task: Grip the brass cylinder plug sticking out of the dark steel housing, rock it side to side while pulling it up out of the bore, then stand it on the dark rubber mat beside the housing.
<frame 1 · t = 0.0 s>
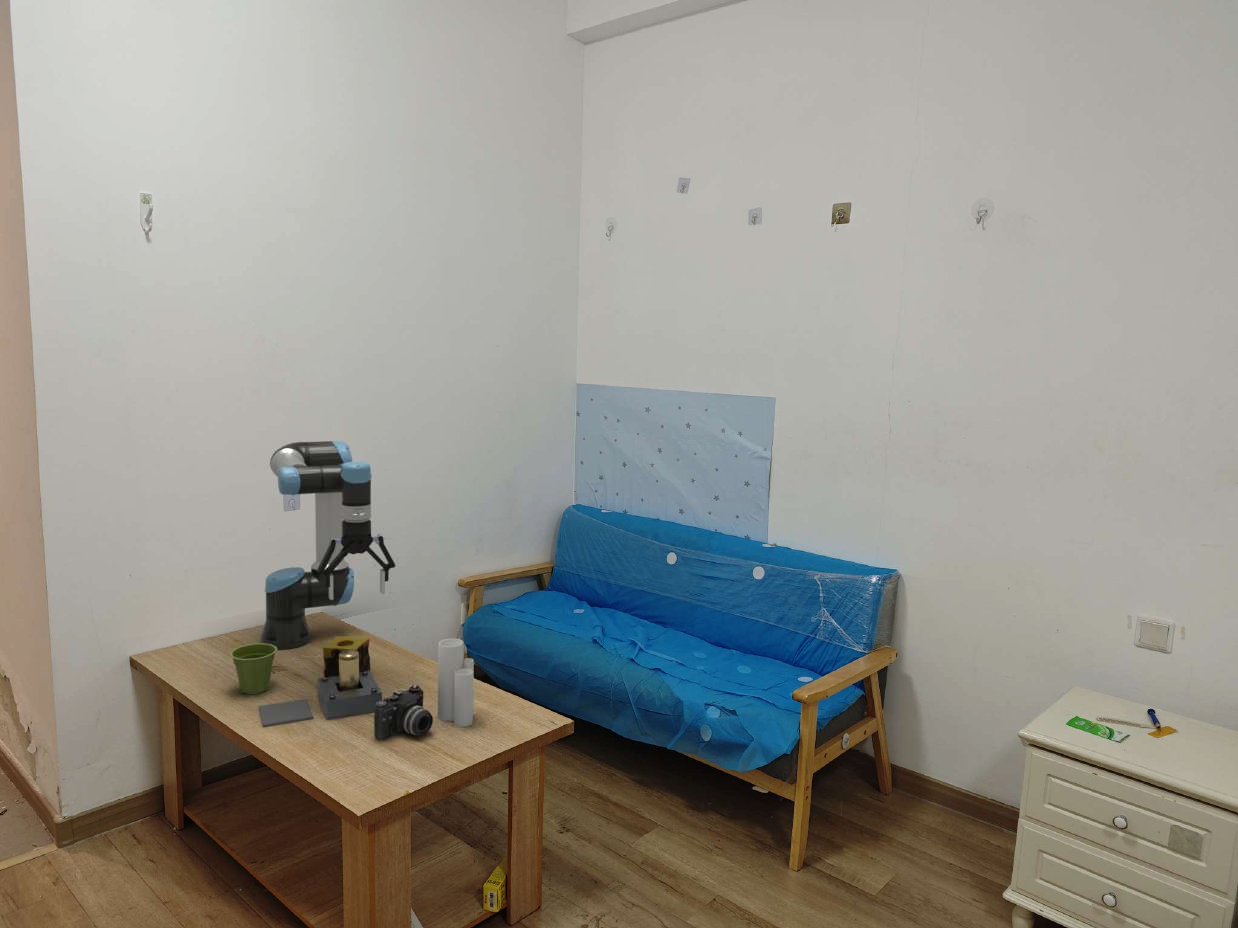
hand: (357, 595, 225), 28 cm above the table, fingers open, 13 cm apart
camera: (407, 733, 207), on the table
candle: (347, 675, 241), on the table
plant pot: (254, 690, 228), on the table
plug: (349, 702, 222), resting in housing
grey cylinder cluster: (457, 718, 216), on the table
mat: (285, 713, 215), on the table
housing: (349, 702, 222), on the table
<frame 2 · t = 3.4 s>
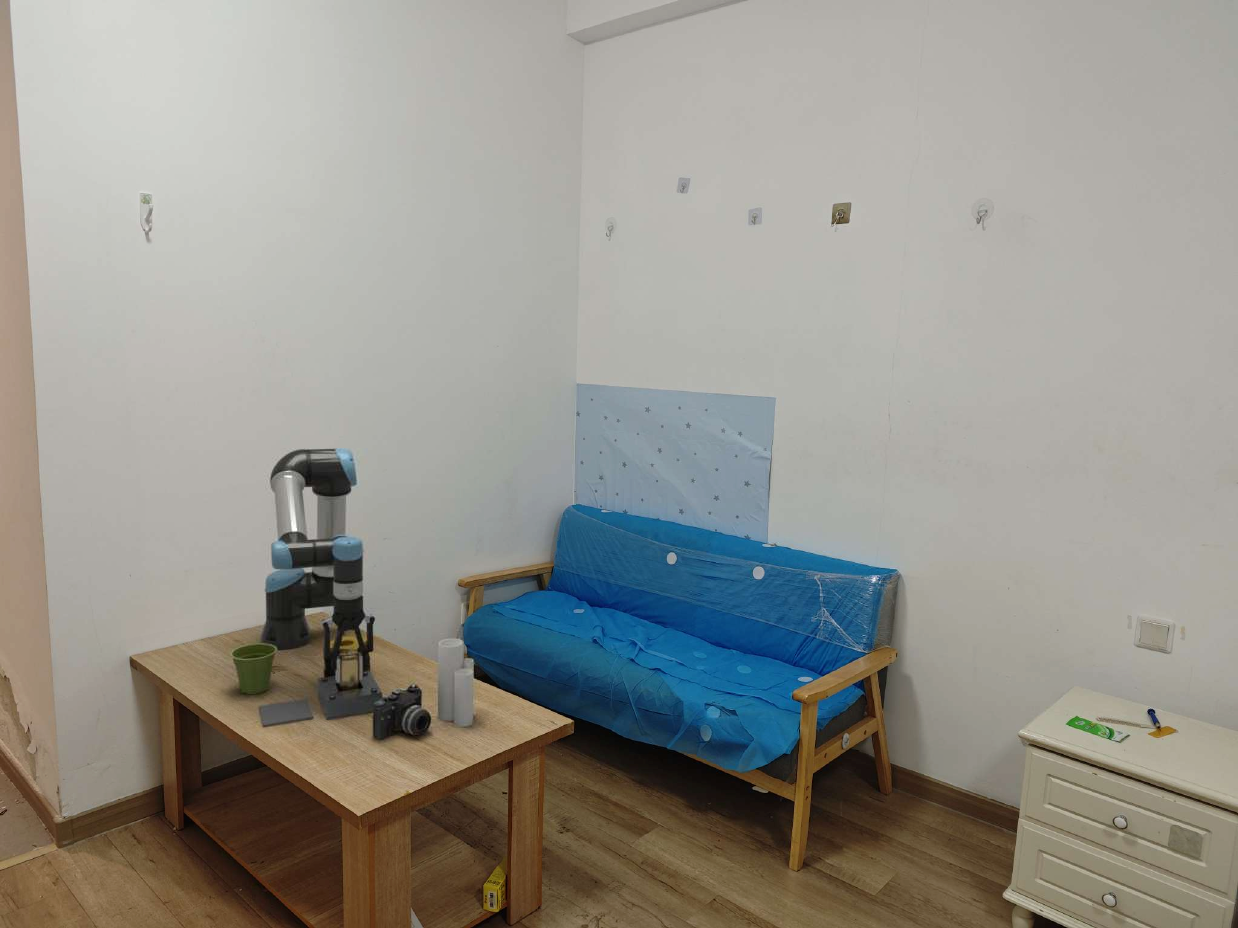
hand: (349, 679, 221), 7 cm above the table, fingers closed on plug, 5 cm apart
plug: (349, 702, 222), resting in housing, touching gripper
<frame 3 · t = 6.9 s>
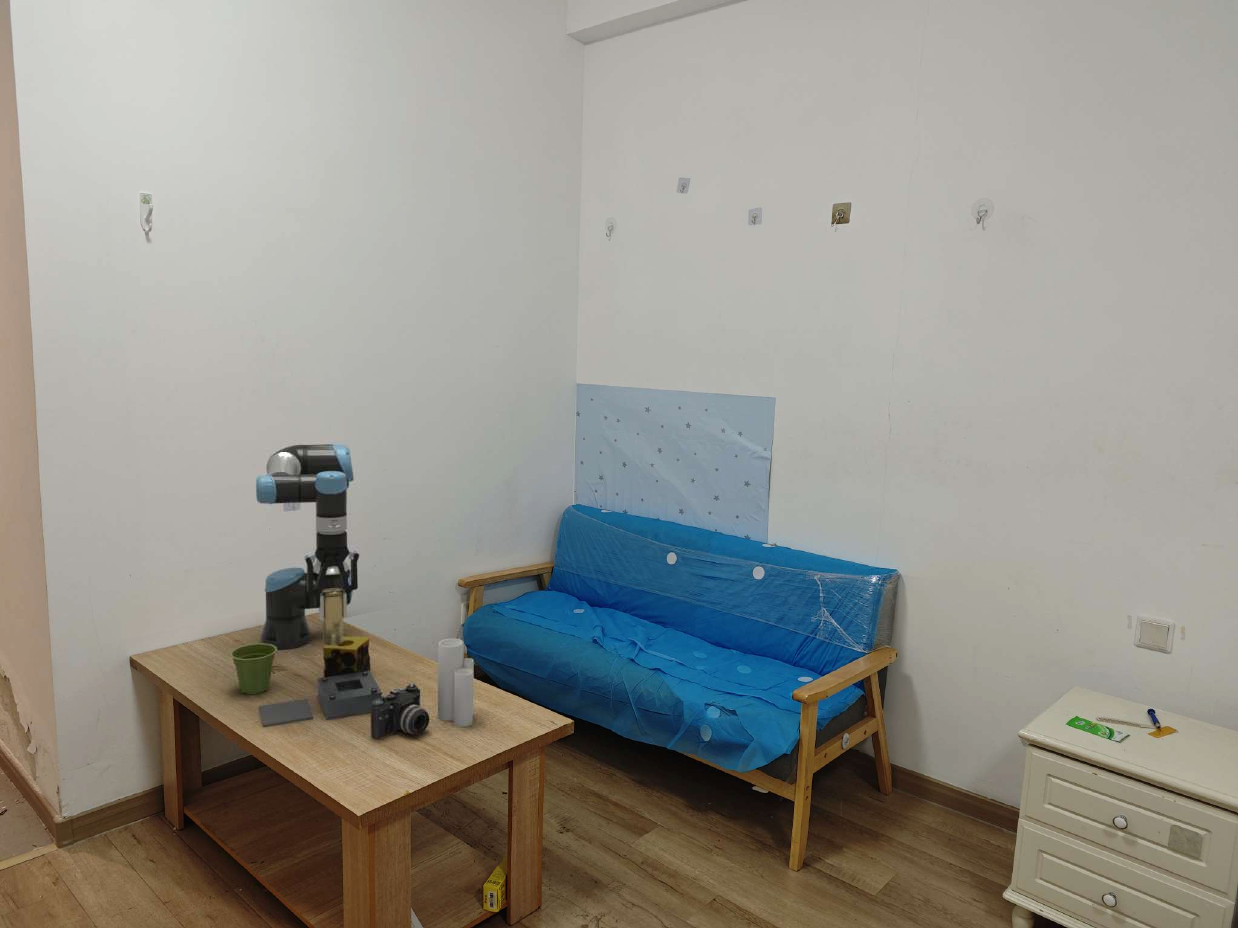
hand: (332, 617, 217), 25 cm above the table, fingers closed on plug, 5 cm apart
plug: (333, 641, 218), point 18 cm above the table, touching gripper
when the fingers open (9 cm above the table, at t = 10.7 s): plug drops 1 cm, resting on mat.
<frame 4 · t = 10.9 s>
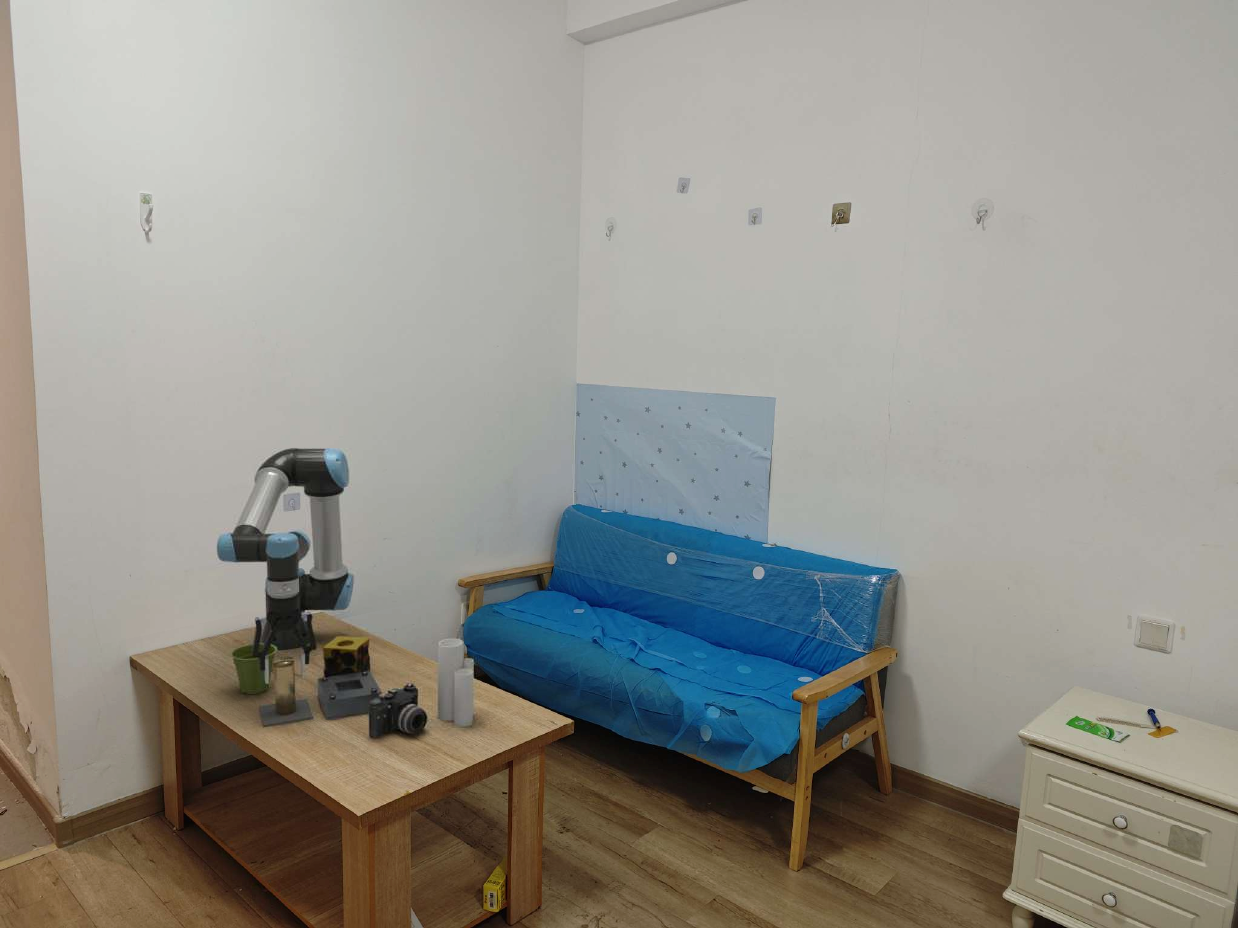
hand: (285, 678, 213), 9 cm above the table, fingers open, 8 cm apart
plug: (286, 710, 215), point 1 cm above the table, touching mat
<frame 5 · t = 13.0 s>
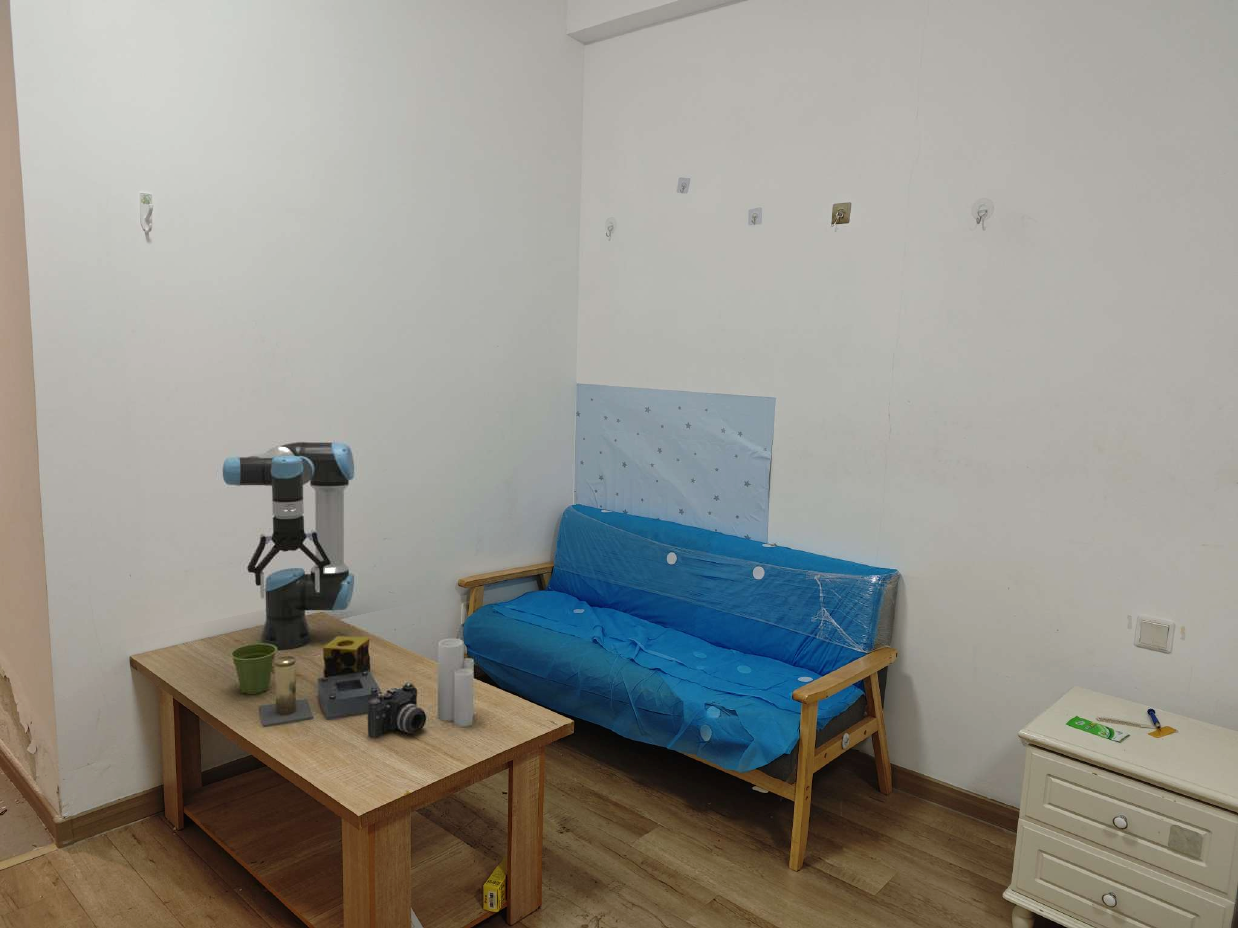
hand: (290, 593, 217), 30 cm above the table, fingers open, 13 cm apart
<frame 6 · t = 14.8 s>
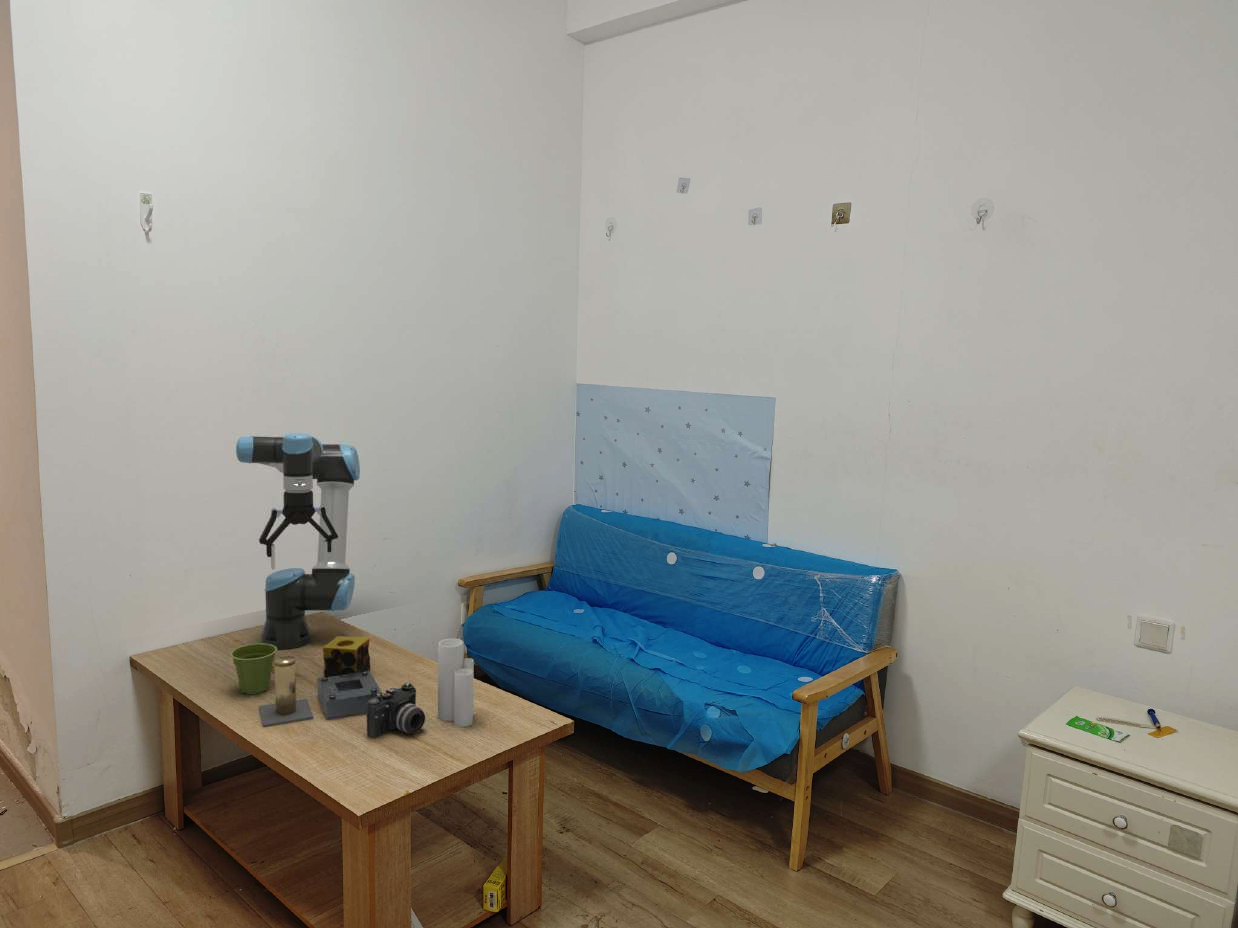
hand: (299, 566, 227), 35 cm above the table, fingers open, 13 cm apart
at the end: plug inside the target area on the mat (0.1 cm from its centre), point 0.6 cm above the mat's base; plug tilted 1°; the gripper is holding nothing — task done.
